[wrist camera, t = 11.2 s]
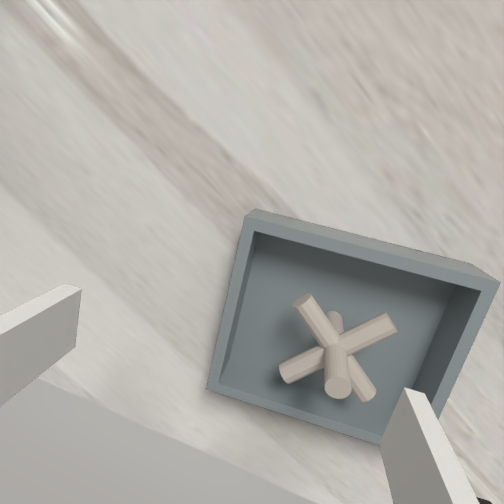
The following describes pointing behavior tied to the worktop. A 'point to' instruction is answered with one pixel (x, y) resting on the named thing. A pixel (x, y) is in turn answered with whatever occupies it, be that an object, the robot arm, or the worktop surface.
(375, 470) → the worktop surface
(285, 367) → the pipe connector
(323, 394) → the bin
